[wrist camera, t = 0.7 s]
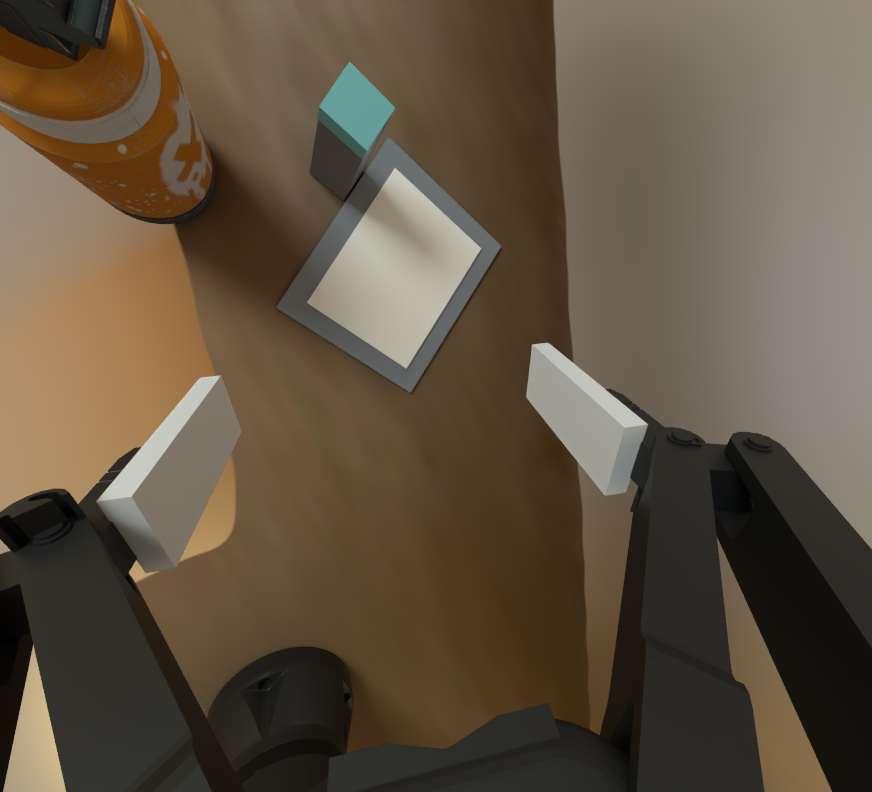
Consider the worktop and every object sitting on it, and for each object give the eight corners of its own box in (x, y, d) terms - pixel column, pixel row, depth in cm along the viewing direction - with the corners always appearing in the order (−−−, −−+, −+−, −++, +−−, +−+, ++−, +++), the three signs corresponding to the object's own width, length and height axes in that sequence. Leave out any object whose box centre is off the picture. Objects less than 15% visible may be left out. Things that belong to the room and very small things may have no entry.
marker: (343, 202, 35) (366, 150, 25) (308, 173, 34) (319, 106, 23) (363, 171, 35) (395, 108, 25) (330, 141, 34) (349, 61, 24)
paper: (409, 392, 41) (411, 393, 40) (275, 307, 34) (275, 307, 34) (500, 246, 42) (502, 245, 42) (387, 138, 36) (389, 135, 35)
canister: (203, 243, 31) (92, 123, 13) (32, 184, 27) (-501, -127, 9) (228, 140, 31) (147, -135, 13) (58, 61, 26) (-452, -546, 8)
